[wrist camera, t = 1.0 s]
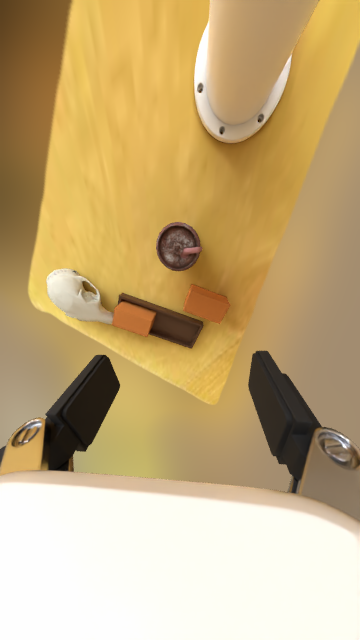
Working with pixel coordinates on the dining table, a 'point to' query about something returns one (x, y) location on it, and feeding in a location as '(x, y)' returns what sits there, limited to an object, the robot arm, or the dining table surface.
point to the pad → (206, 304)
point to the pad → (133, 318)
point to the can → (178, 246)
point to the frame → (169, 323)
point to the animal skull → (76, 297)
